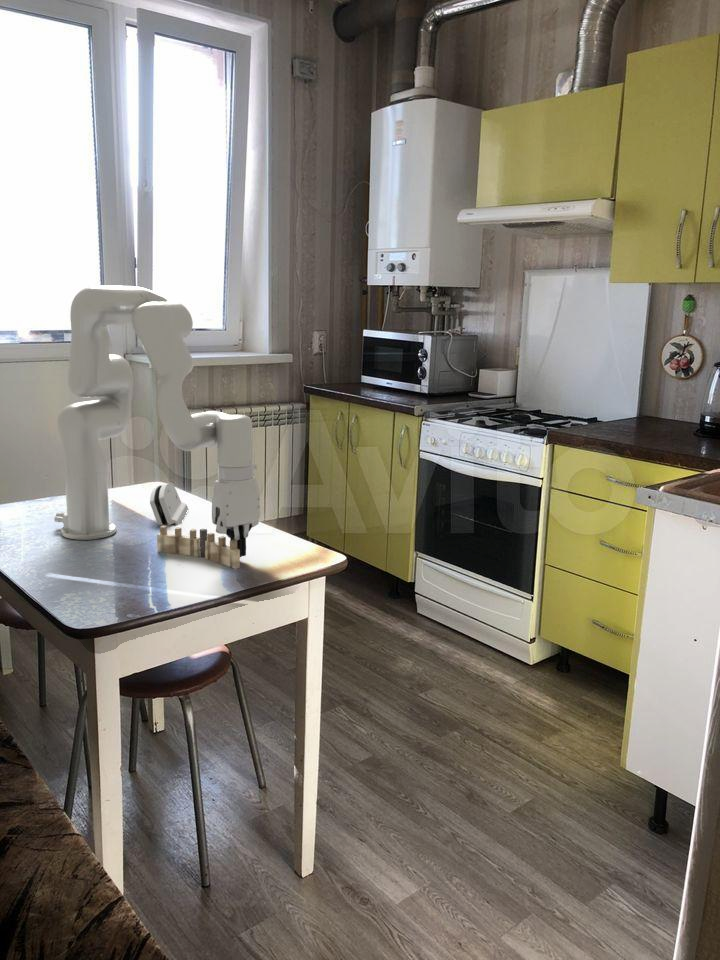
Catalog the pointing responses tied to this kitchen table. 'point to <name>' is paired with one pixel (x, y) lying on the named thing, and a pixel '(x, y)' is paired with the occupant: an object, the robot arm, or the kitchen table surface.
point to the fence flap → (222, 551)
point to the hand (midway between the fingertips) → (238, 555)
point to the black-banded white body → (167, 505)
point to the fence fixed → (182, 542)
